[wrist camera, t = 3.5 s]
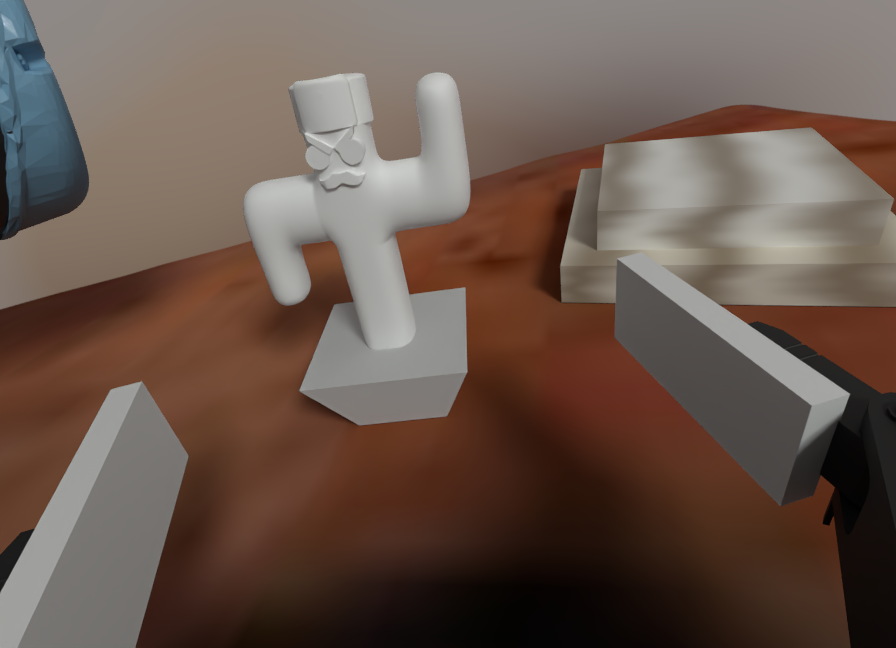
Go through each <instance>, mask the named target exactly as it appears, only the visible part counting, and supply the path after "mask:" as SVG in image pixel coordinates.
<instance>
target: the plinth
mask: <svg viewBox="0 0 896 648" xmlns="http://www.w3.org/2000/svg"><path fill="white" fill-rule="evenodd" d="M893 200H894V198H892V197H891V196H890V195H889V194H888V193H887V192H886V191H884V190H883V189H882V188H881V187H880V186H879V185H877V184H876V183H875V182H874V181H873V180H872V179H871V178H869V177H868V176H867V175H866V174H865V173H864V172H862V171H861V170H860V169H859V168H858V167H857V166H855V165H854V164H853V163H852V162H851V161H850V160H849V159H847V158H846V157H845V156H844V155H843V154H842V153H840V152H839V151H838V150H837V149H836V148H835V147H834V146H832V145H831V144H830V143H829V142H828V141H827V140H825V139H824V138H823V137H822V136H821V135H820V134H818V133H817V132H816V131H815V130H814V129H813V128H800V129H788V130H776V131H763V132H751V133H739V134H727V135H715V136H702V137H690V138H678V139H666V140H653V141H641V142H629V143H617V144H605V150H604V159H603V167H602V168H595V169H581V174H580V178H579V183H578V187H577V192H576V196H575V201H574V206H573V210H572V215H571V219H570V224H569V228H568V233H567V237H566V242H565V247H564V251H563V256H562V260H561V265H560V273H561V299H562V302H572V303H616V270H617V258H621V257H625V256H629V255H632V254H636V253H640V252H642V253H643V254H645V255H646V256H648V257H649V258H651V259H652V260H654V261H655V262H657V263H658V264H660V265H661V266H662V267H664V268H665V269H667V270H668V271H670V272H671V273H673V274H674V275H676V276H677V277H679V278H680V279H682V280H683V281H685V282H686V283H687V284H689V285H690V286H692V287H693V288H695V289H696V290H698V291H699V292H701V293H702V294H704V295H705V296H707V297H708V298H710V299H711V300H713V301H714V302H715V303H717V304H721V305H795V306H869V307H896V216H895V215H894V214H893V213H892V212H891V211H890V209H891V206H892V203H893Z"/></svg>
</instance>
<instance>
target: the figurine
mask: <svg viewBox="0 0 896 648" xmlns="http://www.w3.org/2000/svg"><path fill="white" fill-rule="evenodd" d="M289 94H290V98H291V101H292V105H293V109H294V113H295V117H296V120H297V124H298V128H299V132H300V133H301V134H302V135H303V137H304V140H305V142H306V145H307V148H308V149H307V151H306V154H305V156H306V161H307V163H308V164H309V165H310V166H311V167H312V168H314V173H313V174H306V175H300V176H293V177H287V178H281V179H274V180H268V181H264V182H260V183H258V184H256V185H254V186H252V187H251V188H250V189H249V190H248V192H247V193H246V195H245V198H244V203H243V210H244V218H245V222H246V226H247V229H248V232H249V235H250V238H251V241H252V243H253V246H254V249H255V251H256V254H257V256H258V259H259V261H260V264H261V266H262V269H263V271H264V274H265V276H266V279H267V281H268V284H269V286H270V289H271V291H272V294H273V296H274V298H275V299H276V301H277V302H279V303H280V304H282V305H286V306H290V305H295V304H298V303H299V302H301V301H303V300H304V299H305V298H306V297H307V295H308V294H309V291H310V288H311V281H310V276H309V273H308V270H307V267H306V264H305V261H304V257H303V253H302V248H301V245H302V244H309V243H316V242H323V241H330V240H331V241H333V242H334V244H335V245H336V246H337V248H338V251H339V255H340V258H341V261H342V265H343V268H344V271H345V275H346V278H347V281H348V285H349V288H350V291H351V295H352V298H353V301H354V302H349V303H341V304H334V306H333V309H332V311H331V314H330V316H329V319H328V321H327V324H326V326H325V328H324V331H323V333H322V336H321V338H320V341H319V343H318V346H317V348H316V351H315V353H314V356H313V358H312V360H311V363H310V365H309V368H308V370H307V373H306V375H305V378H304V380H303V383H302V385H301V387H300V390H299V391H300V392H301V393H303V394H305V395H307V396H308V397H310V398H312V399H314V400H315V401H317V402H319V403H321V404H322V405H324V406H326V407H328V408H329V409H331V410H333V411H335V412H336V413H338V414H340V415H342V416H343V417H345V418H347V419H349V420H350V421H352V422H354V423H356V424H357V425H368V424H378V423H388V422H397V421H407V420H417V419H426V418H436V417H445V416H447V415H448V413H449V411H450V409H451V407H452V404H453V402H454V400H455V398H456V396H457V393H458V391H459V389H460V387H461V385H462V383H463V380H464V378H465V376H466V374H467V341H466V296H465V288H457V289H449V290H442V291H434V292H426V293H419V294H411V295H409V292H408V287H407V283H406V279H405V274H404V270H403V265H402V261H401V257H400V252H399V248H398V244H397V239H396V235H395V233H396V232H399V231H402V230H407V229H414V228H421V227H428V226H435V225H442V224H448V223H452V222H454V221H456V220H458V219H460V218H461V217H462V216H463V215H464V214H465V213H466V211H467V209H468V206H469V201H470V176H469V166H468V158H467V151H466V143H465V136H464V129H463V121H462V114H461V106H460V99H459V94H458V89H457V86H456V83H455V81H454V80H453V78H452V77H451V76H449V75H448V74H446V73H439V72H436V73H431V74H428V75H426V76H424V77H422V79H420V80H419V82H418V83H417V86H416V90H415V101H416V108H417V114H418V120H419V126H420V133H421V142H422V150H421V154H420V155H419V156H418V157H414V158H408V159H402V160H395V161H384V160H382V159H381V158H380V157H379V156H378V154H377V151H376V148H375V143H374V139H373V134H372V129H371V123H370V122H372V121H373V119H374V118H373V112H372V107H371V102H370V97H369V92H368V87H367V82H366V77H365V75H364V74H360V73H349V74H337V75H333V76H329V77H325V78H319V79H313V80H306V81H296V82H294V85H292V86H290V87H289Z"/></svg>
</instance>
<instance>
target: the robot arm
mask: <svg viewBox="0 0 896 648" xmlns="http://www.w3.org/2000/svg"><path fill="white" fill-rule="evenodd" d="M88 187H89V176H88V170H87V165H86V162H85V158H84V154H83V151H82V148H81V145H80V142H79V138H78V135H77V132H76V129H75V127H74V124H73V121H72V118H71V115H70V113H69V110H68V107H67V105H66V102H65V99H64V97H63V94H62V92H61V89H60V88H59V84H58V82H57V79H56V77H55V75H54V72H53V70H52V69H51V67H50V65H49V63H48V62H47V61H46V60H45V52H44V50H43V47H42V45H41V43H40V41H39V38H38V36H37V33H36V29H35V26H34V23H33V21H32V19H31V16H30V14H29V11H28V9H27V7H26V5H25V3H24V0H0V240H5V239H8V238H11V237H13V236H14V235H16V234H17V233H18V231H20V230H23V229H26V228H28V227H31V226H34V225H37V224H40V223H42V222H45V221H48V220H50V219H54V218H56V217H59V216H62V215H64V214H67V213H70V212H71V211H73V210H74V209H76V208H77V207H78V206H79V205H80V204H81V203H82V202H83V200H84V199H85V197H86V195H87V192H88ZM615 338H616V339H617V340H618V341H619V342H620V343H621V345H622V346H623V347H624V348H625V349H626V350H627V351H628V352H629V353H630V354H631V355H632V356H633V357H634V358H635V359H636V360H637V361H638V362H639V363H640V364H641V365H642V366H643V367H644V368H645V369H646V370H647V371H648V372H649V373H650V374H651V375H652V376H653V377H654V378H655V379H656V380H657V381H658V382H659V383H660V384H661V385H662V386H663V387H664V388H665V389H666V390H667V391H668V392H669V393H670V394H671V395H672V396H673V397H674V398H675V399H676V401H677V402H678V403H679V404H680V405H681V406H682V407H683V408H684V409H685V410H686V411H687V412H688V413H689V414H690V415H691V416H692V417H693V418H694V419H695V420H696V421H697V422H698V423H699V424H700V425H701V426H702V427H703V428H704V429H705V430H706V431H707V432H708V433H709V434H710V435H711V436H712V437H713V438H714V439H715V440H716V441H717V442H718V443H719V444H720V445H721V446H722V447H723V448H724V449H725V450H726V451H727V452H728V453H729V454H730V455H731V456H732V458H733V459H734V460H735V461H736V462H737V463H738V464H739V465H740V466H741V467H742V468H743V469H744V470H745V471H746V472H747V473H748V474H749V475H750V476H751V477H752V478H753V479H754V480H755V481H756V482H757V483H758V484H759V485H760V486H761V487H762V488H763V489H764V490H765V491H766V492H767V493H768V494H769V495H770V496H771V497H772V498H773V499H774V500H775V501H776V502H777V503H778V504H779V505H780V506H783V505H786V504H789V503H792V502H795V501H798V500H801V499H804V498H807V497H810V496H813V495H814V492H815V489H816V487H817V484H818V481H819V478H820V476H821V475H822V476H823V477H824V478H825V479H826V480H827V481H829V482H830V483H831V484H832V485H833V486H834V487H835V489H834V492H833V494H832V497H831V500H830V502H829V505H828V507H827V510H826V512H825V515H824V519H823V524H825V525H830V522H831V520H832V517H833V516H834V520H835V528H836V535H837V543H838V551H839V559H840V567H841V574H842V582H843V590H844V598H845V606H846V613H847V621H848V629H849V637H850V645H851V648H896V393H891V392H890V393H885V394H881V393H879V392H878V391H876V390H875V389H873V388H872V387H870V386H868V385H867V384H865V383H864V382H862V381H861V380H859V379H858V378H856V377H854V376H853V375H851V374H850V373H848V372H847V371H845V370H844V369H842V368H840V367H839V366H837V365H836V364H834V363H833V362H831V361H830V360H828V359H826V358H825V357H823V356H822V355H820V356H818V354H817V352H816V351H814V350H812V349H811V348H809V347H808V346H806V345H802V344H801V342H800V341H798V340H797V339H795V338H794V337H792V336H791V335H789V334H787V333H786V332H784V331H783V330H781V329H778V328H775V327H772V326H769V325H767V324H764V323H761V322H758V321H757V322H753V323H750V324H746V323H745V322H743V321H742V320H740V319H739V318H738V317H736V316H735V315H733V314H732V313H730V312H729V311H727V310H726V309H724V308H723V307H721V306H720V305H718V304H717V303H715V302H714V301H713V300H711V299H710V298H708V297H707V296H705V295H704V294H702V293H701V292H699V291H698V290H696V289H695V288H693V287H692V286H690V285H689V284H687V283H686V282H685V281H683V280H682V279H680V278H679V277H677V276H676V275H674V274H673V273H671V272H670V271H668V270H667V269H665V268H664V267H662V266H661V265H660V264H658V263H657V262H655V261H654V260H652V259H651V258H649V257H648V256H646V255H645V254H643V253H642V252H640V253H636V254H632V255H629V256H625V257H621V258H617V270H616V305H615ZM188 457H189V456H188V454H187V453H186V451H185V449H184V448H183V446H182V445H181V443H180V441H179V440H178V438H177V437H176V435H175V433H174V432H173V430H172V429H171V427H170V425H169V424H168V422H167V421H166V419H165V417H164V416H163V414H162V413H161V411H160V409H159V408H158V406H157V405H156V403H155V401H154V400H153V398H152V397H151V395H150V393H149V392H148V390H147V389H146V387H145V385H144V384H143V382H138V383H134V384H130V385H126V386H122V387H118V388H115V389H111V390H110V392H109V394H108V396H107V397H106V399H105V401H104V403H103V405H102V407H101V408H100V410H99V412H98V414H97V416H96V418H95V419H94V421H93V423H92V425H91V427H90V429H89V431H88V432H87V434H86V436H85V438H84V440H83V442H82V443H81V445H80V447H79V449H78V451H77V453H76V454H75V456H74V458H73V460H72V462H71V464H70V465H69V467H68V469H67V471H66V473H65V475H64V476H63V478H62V480H61V482H60V484H59V486H58V488H57V489H56V491H55V493H54V495H53V497H52V499H51V500H50V502H49V504H48V506H47V508H46V510H45V511H44V513H43V515H42V517H41V519H40V521H39V522H38V524H37V526H36V528H35V529H32V530H28V531H25V532H21V533H20V534H19V535H18V536H17V538H16V539H15V540H14V541H13V542H12V543H11V544H10V545H9V546H8V547H7V548H6V549H5V550H4V551H3V552H2V554H1V555H0V648H135V647H136V643H137V640H138V636H139V632H140V629H141V625H142V622H143V618H144V615H145V611H146V607H147V604H148V600H149V597H150V593H151V589H152V586H153V582H154V579H155V575H156V571H157V568H158V564H159V561H160V557H161V554H162V550H163V546H164V543H165V539H166V536H167V532H168V528H169V525H170V521H171V518H172V514H173V510H174V507H175V503H176V500H177V496H178V493H179V489H180V485H181V482H182V478H183V475H184V471H185V467H186V464H187V460H188Z"/></svg>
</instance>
